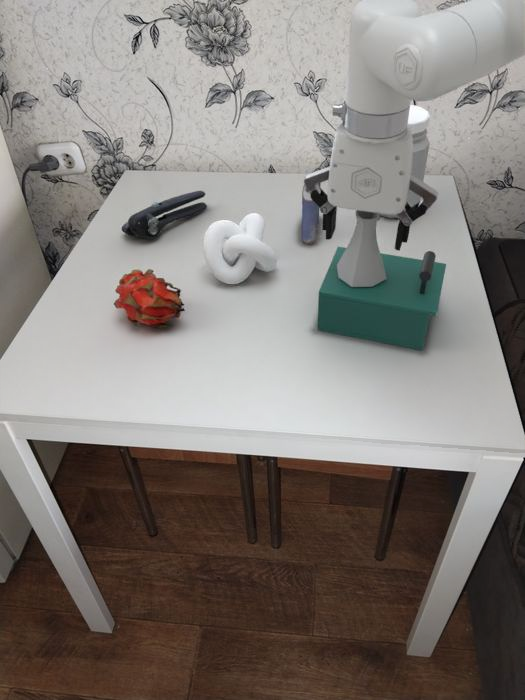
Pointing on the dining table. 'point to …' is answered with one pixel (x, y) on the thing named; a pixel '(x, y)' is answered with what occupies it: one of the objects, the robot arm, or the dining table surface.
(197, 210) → the can opener
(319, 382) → the dining table surface
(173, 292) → the dragon fruit
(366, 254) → the flask
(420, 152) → the jar
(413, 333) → the box
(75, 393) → the dining table surface
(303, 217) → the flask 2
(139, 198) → the dining table surface
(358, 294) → the lunchbox lid
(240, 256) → the white decorative knot
